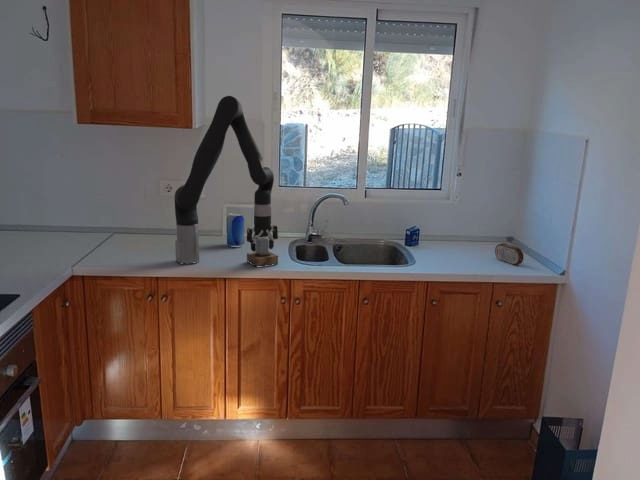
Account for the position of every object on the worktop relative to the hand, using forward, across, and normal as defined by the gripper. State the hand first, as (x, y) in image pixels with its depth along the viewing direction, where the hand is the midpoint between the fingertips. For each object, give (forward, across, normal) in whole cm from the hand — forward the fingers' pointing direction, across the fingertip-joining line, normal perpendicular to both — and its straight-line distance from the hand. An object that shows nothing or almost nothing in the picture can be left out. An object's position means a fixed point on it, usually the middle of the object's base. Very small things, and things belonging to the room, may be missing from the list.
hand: (262, 250), depth 237 cm
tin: (+6, +100, -55) cm, 114 cm away
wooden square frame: (+6, 0, 0) cm, 6 cm away
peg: (+6, 0, 0) cm, 6 cm away
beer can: (+6, +3, +32) cm, 33 cm away
